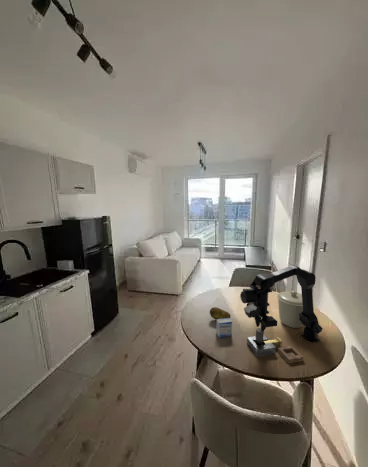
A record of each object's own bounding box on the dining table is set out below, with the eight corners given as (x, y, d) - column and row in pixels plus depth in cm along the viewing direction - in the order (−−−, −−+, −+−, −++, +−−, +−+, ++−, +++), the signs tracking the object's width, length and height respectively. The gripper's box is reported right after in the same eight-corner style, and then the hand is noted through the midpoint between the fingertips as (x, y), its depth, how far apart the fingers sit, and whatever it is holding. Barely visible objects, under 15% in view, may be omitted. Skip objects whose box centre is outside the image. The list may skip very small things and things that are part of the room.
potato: (229, 325, 129) (229, 313, 128) (208, 321, 133) (208, 310, 132) (230, 318, 137) (231, 306, 136) (211, 315, 141) (211, 303, 140)
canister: (313, 333, 121) (316, 299, 117) (279, 330, 124) (281, 296, 121) (302, 316, 138) (305, 286, 135) (272, 313, 142) (274, 284, 138)
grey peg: (260, 345, 111) (261, 327, 110) (264, 350, 108) (265, 331, 106) (253, 346, 111) (254, 328, 109) (257, 351, 107) (258, 332, 105)
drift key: (277, 343, 113) (278, 336, 113) (281, 347, 110) (282, 340, 110) (262, 345, 111) (262, 339, 111) (266, 349, 108) (266, 343, 108)
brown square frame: (291, 349, 109) (291, 345, 108) (303, 360, 101) (303, 356, 101) (277, 351, 107) (277, 348, 107) (288, 363, 99) (288, 359, 99)
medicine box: (218, 337, 118) (219, 323, 117) (216, 332, 122) (216, 319, 121) (232, 335, 120) (232, 321, 118) (228, 331, 124) (229, 317, 123)
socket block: (263, 340, 115) (264, 334, 115) (275, 353, 106) (275, 347, 105) (247, 343, 113) (247, 337, 113) (257, 356, 104) (257, 350, 103)
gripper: (237, 293, 112) (236, 320, 115) (257, 312, 94) (255, 343, 97) (257, 291, 114) (255, 318, 117) (279, 309, 96) (276, 340, 99)
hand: (259, 329), depth 107 cm, fingers open, 4 cm apart
